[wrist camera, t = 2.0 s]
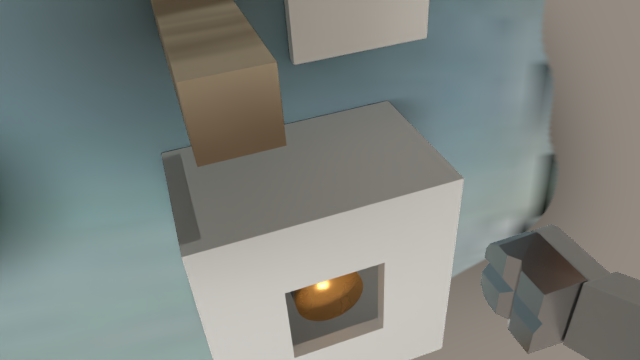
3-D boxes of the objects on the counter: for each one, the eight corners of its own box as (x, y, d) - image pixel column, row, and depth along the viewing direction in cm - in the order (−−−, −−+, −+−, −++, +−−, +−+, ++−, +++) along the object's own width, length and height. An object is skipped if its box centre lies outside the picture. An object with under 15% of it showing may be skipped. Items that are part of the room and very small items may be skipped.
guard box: (161, 153, 30) (181, 257, 23) (387, 100, 33) (464, 178, 26) (207, 313, 38) (233, 423, 31) (384, 258, 41) (441, 348, 35)
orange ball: (273, 233, 31) (293, 282, 28) (336, 216, 32) (362, 261, 29) (280, 279, 34) (299, 329, 30) (338, 261, 34) (363, 308, 31)
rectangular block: (144, -25, 24) (176, 82, 15) (208, -35, 25) (276, 62, 16) (159, 37, 26) (197, 167, 17) (219, 26, 27) (286, 145, 18)
